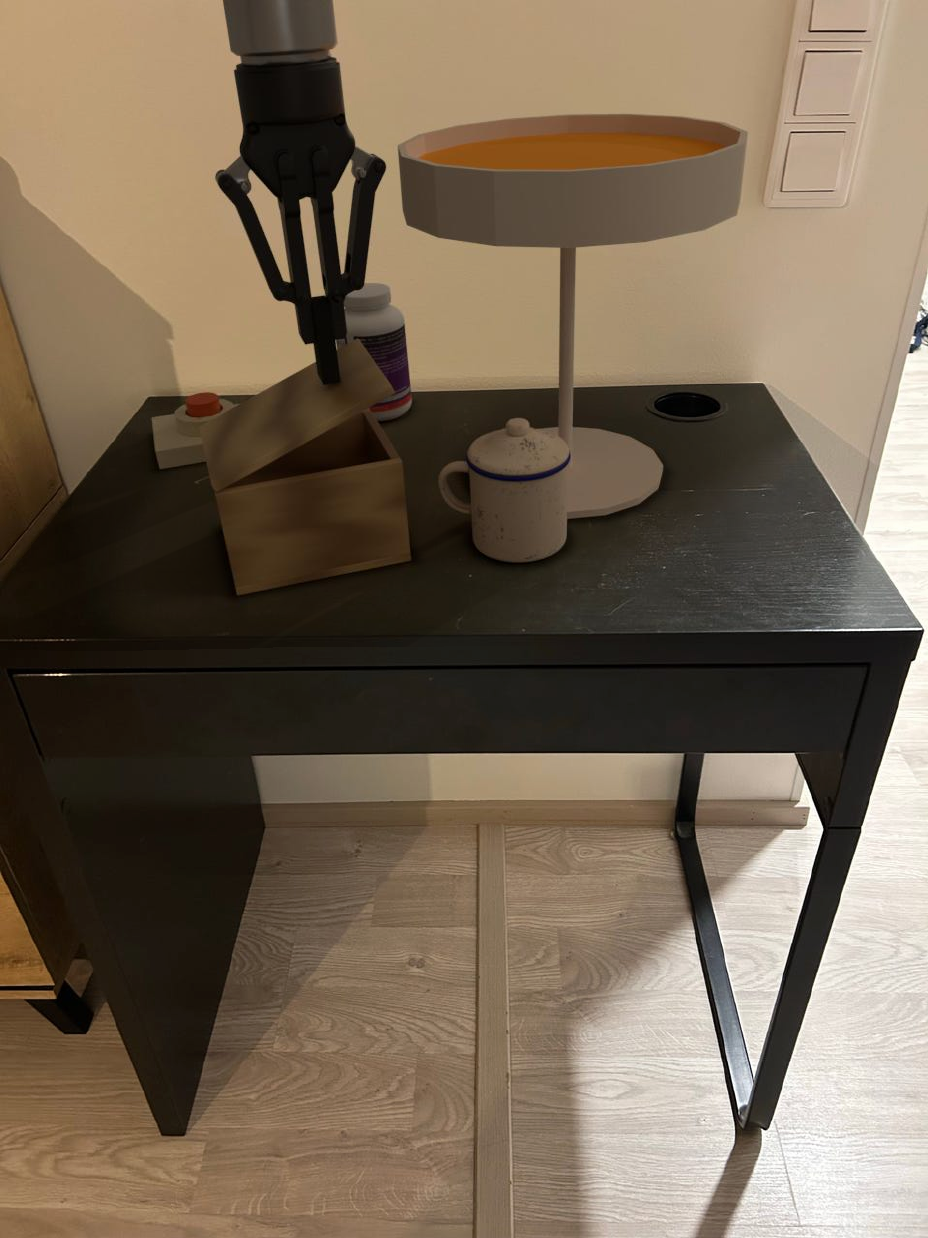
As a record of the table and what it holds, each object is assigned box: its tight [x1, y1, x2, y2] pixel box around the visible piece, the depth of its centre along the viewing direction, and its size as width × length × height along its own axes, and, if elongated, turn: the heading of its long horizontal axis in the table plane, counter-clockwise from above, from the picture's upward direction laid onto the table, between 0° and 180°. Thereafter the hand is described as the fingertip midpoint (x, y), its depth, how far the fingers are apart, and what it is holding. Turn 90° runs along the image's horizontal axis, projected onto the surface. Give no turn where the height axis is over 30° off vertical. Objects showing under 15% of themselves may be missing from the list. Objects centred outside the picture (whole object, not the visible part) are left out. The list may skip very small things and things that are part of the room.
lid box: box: [213, 408, 412, 596], centre depth 86 cm, size 16×13×10 cm
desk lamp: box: [397, 113, 749, 520], centre depth 90 cm, size 30×30×31 cm
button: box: [184, 391, 221, 417], centre depth 107 cm, size 4×4×2 cm
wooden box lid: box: [199, 339, 395, 493], centre depth 81 cm, size 16×13×1 cm
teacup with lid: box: [437, 417, 571, 563], centre depth 85 cm, size 12×9×12 cm
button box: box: [151, 398, 242, 470], centre depth 108 cm, size 12×10×4 cm
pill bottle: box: [335, 282, 413, 422], centre depth 110 cm, size 8×8×14 cm
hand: (329, 377), depth 81 cm, fingers closed
